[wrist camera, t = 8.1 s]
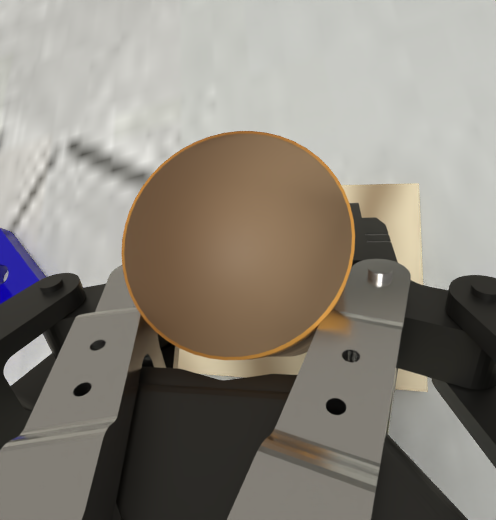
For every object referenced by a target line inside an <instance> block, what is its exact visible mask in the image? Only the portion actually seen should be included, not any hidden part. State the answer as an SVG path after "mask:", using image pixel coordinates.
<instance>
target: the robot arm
mask: <svg viewBox="0 0 496 520" xmlns="http://www.w3.org/2000/svg"><path fill="white" fill-rule="evenodd" d="M349 204H350V207H351V211H352V215H353V219H354V229H355V250H354V256H353V262H352V267H351V270H350V273H349V276H348V279H347V282H346V285H345V288H344V291H343V293H342V295H341V297H340V299H339V301H338V303H337V305H336V307H335V310H332V311H331V312H330V313H329V314H328V315H327V316H326V317H325V318H324V319H323V320H322V321H321V322H320V324H319V326H318V328H317V331H316V333H315V335H314V338H313V340H312V342H311V345H310V347H309V349H308V352H307V354H306V356H305V359H304V361H303V363H302V366H301V368H300V370H299V373H298V375H290V374H267V375H260V376H253V377H247V378H240V379H233V380H225V381H224V380H217V379H214V378H211V377H207V376H204V375H200V374H197V373H193V372H190V371H187V370H183V369H178V361H179V349H180V348H178V347H177V346H175V345H173V344H172V343H170V342H168V341H167V340H165V339H164V338H163V337H162V336H160V335H159V334H158V333H157V332H155V331H154V330H153V328H152V327H151V326H150V325H149V324H148V323H147V322H146V321H145V320H144V318H143V317H142V315H141V314H140V312H139V311H138V310H137V308H136V306H135V304H134V302H133V300H132V298H131V296H130V294H129V291H128V288H127V285H126V282H125V277H124V272H123V266H122V265H121V266H119V267H118V268H116V269H115V270H114V271H113V272H112V273H111V274H110V276H109V278H108V281H107V283H106V284H102V285H97V286H91V287H86V288H83V286H82V284H81V281H80V279H79V277H78V276H77V275H75V274H72V273H61V274H56V275H52V276H49V277H46V278H44V279H41V280H39V281H38V282H36V283H34V284H33V285H31V286H29V287H28V288H26V289H24V290H23V291H21V292H19V293H18V294H16V295H15V296H13V297H11V298H10V299H8V300H6V301H5V302H3V303H1V304H0V520H468V519H467V518H466V517H465V516H464V515H463V514H462V513H461V512H460V511H459V509H458V508H457V507H456V506H455V505H454V504H453V503H452V502H451V501H450V500H449V499H448V498H447V497H446V496H445V495H444V494H443V493H442V491H441V490H440V489H439V488H438V487H437V486H436V485H435V484H434V483H433V482H432V481H431V480H430V479H429V478H428V477H427V476H426V475H425V473H424V472H423V471H422V470H421V469H420V468H419V467H418V466H417V465H416V464H415V463H414V462H413V461H412V460H411V459H410V458H409V457H408V455H407V454H406V453H405V452H404V451H403V450H402V449H401V448H400V447H399V446H398V445H397V444H396V443H395V442H394V441H393V440H392V439H391V437H390V436H389V435H388V432H389V426H390V419H391V412H392V406H393V399H394V393H395V386H396V380H397V373H398V368H399V369H402V370H406V371H409V372H413V373H416V374H420V375H423V376H426V377H430V378H432V382H433V385H434V386H435V388H436V389H437V391H438V392H439V393H440V395H441V396H442V397H443V399H444V400H445V401H446V403H447V404H448V405H449V407H450V408H451V409H452V411H453V412H454V413H455V415H456V416H457V417H458V419H459V420H460V421H461V423H462V424H463V425H464V427H465V428H466V429H467V431H468V432H469V433H470V435H471V436H472V437H473V439H474V440H475V441H476V443H477V444H478V445H479V447H480V448H481V449H482V451H483V452H484V453H485V455H486V456H487V457H488V459H489V460H490V461H491V463H492V464H493V465H494V466H495V468H496V278H493V277H488V276H481V275H468V276H463V277H459V278H457V279H455V280H453V281H452V282H451V284H450V286H449V291H448V290H443V289H438V288H432V287H428V286H424V285H421V284H418V283H416V282H414V281H412V280H411V274H410V272H409V270H408V269H407V268H406V267H404V266H403V265H401V264H399V263H398V262H397V259H396V255H395V252H394V249H393V246H392V243H391V240H390V237H389V235H388V230H387V227H386V225H385V224H384V223H383V222H382V221H380V220H379V219H378V218H376V217H372V218H362V216H361V211H360V206H359V203H349ZM42 333H43V335H44V337H45V339H46V341H47V343H48V345H49V347H50V349H51V351H52V354H51V355H49V356H48V357H47V358H46V359H44V360H43V361H42V362H40V363H39V364H38V365H37V366H35V367H34V368H33V369H32V370H30V371H29V372H28V373H27V374H25V375H24V376H23V377H22V378H20V379H19V380H18V381H17V382H15V383H14V384H13V385H12V386H10V385H9V384H8V382H7V380H6V379H5V377H4V374H3V370H4V366H5V364H6V362H7V360H8V359H9V358H10V357H11V356H12V355H14V354H15V353H16V352H18V351H19V350H20V349H22V348H23V347H24V346H26V345H27V344H29V343H30V342H31V341H33V340H34V339H35V338H37V337H38V336H40V335H41V334H42Z"/></svg>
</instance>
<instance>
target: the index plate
mask: <svg viewBox="0 0 496 520" xmlns="http://www.w3.org/2000/svg"><path fill="white" fill-rule="evenodd" d="M341 186H342V188H343V189H344V191H345V194H346V196H347V199H348V201H349V203H359V206H360V211H361V216H362V218H372V217H376V218H378V219H379V220H380V221H382V222H383V223H384V224H385V225H386V227H387V230H388V235H389V237H390V240H391V243H392V246H393V249H394V252H395V255H396V259H397V262H398V263H399V264H401V265H403V266H404V267H406V268H407V269H408V270H409V272H410V274H411V280H412V281H414V282H416V283H418V284H421V285H423V269H422V246H421V222H420V198H419V184H376V185H341ZM306 354H307V352H306V353H304V354H301V355H297V356H291V357H263V358H257V359H251V360H218V359H210V358H206V357H202V356H198V355H194V354H192V353H189V352H187V351H185V350H182V349H179V361H178V369H183V370H187V371H190V372H193V373H197V374H209V375H221V376H234V377H246V378H247V377H253V376H260V375H267V374H290V375H298V373H299V370H300V368H301V366H302V363H303V361H304V359H305V356H306ZM395 389H397V390H410V391H423V392H428V388H427V377H426V376H423V375H420V374H416V373H413V372H409V371H406V370H402V369H399V368H398V373H397V380H396V386H395Z"/></svg>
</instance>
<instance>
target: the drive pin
mask: <svg viewBox="0 0 496 520" xmlns="http://www.w3.org/2000/svg"><path fill="white" fill-rule="evenodd" d="M354 250H355V229H354V219H353V215H352V211H351V207H350V204H349V201H348V199H347V196H346V194H345V191H344V189H343V188H342V186H341V184H340V182H339V181H338V179H337V177H336V176H335V175H334V174H333V172H332V171H331V170H330V169H329V167H328V166H327V165H326V164H325V163H324V162H323V161H322V160H321V159H320V158H319V157H318V156H316V155H315V154H313V153H312V152H311V151H309V150H308V149H307V148H305V147H303V146H301V145H299V144H298V143H296V142H294V141H291V140H289V139H286V138H284V137H281V136H277V135H273V134H269V133H264V132H255V131H236V132H228V133H222V134H218V135H214V136H210V137H207V138H205V139H202V140H199V141H197V142H195V143H193V144H191V145H189V146H187V147H185V148H183V149H182V150H180V151H179V152H177V153H176V154H174V155H172V156H171V157H170V158H169V159H168V160H166V161H165V162H164V163H163V164H162V165H160V167H159V168H158V169H157V170H156V171H155V172H154V173H153V174H152V175H151V176H150V177H149V179H148V180H147V181H146V183H145V184H144V185H143V187H142V188H141V190H140V192H139V193H138V195H137V197H136V198H135V200H134V203H133V205H132V207H131V209H130V211H129V214H128V218H127V221H126V224H125V229H124V234H123V239H122V266H123V272H124V277H125V282H126V285H127V288H128V291H129V294H130V296H131V298H132V300H133V302H134V304H135V306H136V308H137V310H138V311H139V312H140V314H141V315H142V317H143V318H144V320H145V321H146V322H147V323H148V324H149V325H150V326H151V327H152V328H153V330H154V331H155V332H157V333H158V334H159V335H160V336H162V337H163V338H164V339H165V340H167V341H168V342H170V343H172V344H173V345H175V346H177V347H178V348H180V349H182V350H185V351H187V352H189V353H192V354H194V355H198V356H202V357H206V358H210V359H218V360H251V359H257V358H263V357H291V356H297V355H301V354H304V353H306V352H308V349H309V347H310V345H311V342H312V340H313V338H314V335H315V333H316V331H317V328H318V326H319V324H320V322H321V321H322V320H323V319H324V318H325V317H326V316H327V315H328V314H329V313H330V312H331V311H332V310H335V307H336V305H337V303H338V301H339V299H340V297H341V295H342V293H343V291H344V288H345V285H346V282H347V279H348V276H349V273H350V270H351V267H352V262H353V256H354Z"/></svg>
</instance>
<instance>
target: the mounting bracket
mask: <svg viewBox="0 0 496 520" xmlns="http://www.w3.org/2000/svg"><path fill="white" fill-rule="evenodd" d="M7 271H9V274H8V278H7V280H6V281H5V282H3V278H4V275H5V273H6V272H7ZM44 278H46V276H45V275H44V274H43V272H42V271H41V270H40V268H39V267H38V266H37V264H36V263H35V262H34V260H33V259H32V258H31V256H30V255H29V254H28V253H27V251H26V250H25V249H24V247H23V246H22V245H21V243H20V242H19V241H18V239H17V238H16V237H15V236H14V234H13V233H12V232H10V231H8V230H5V229H2V228H0V304H1V303H3V302H5V301H6V300H8V299H10V298H11V297H13V296H15V295H16V294H18V293H19V292H21V291H23V290H24V289H26V288H28V287H29V286H31V285H33V284H34V283H36V282H38V281H39V280H41V279H44Z"/></svg>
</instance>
